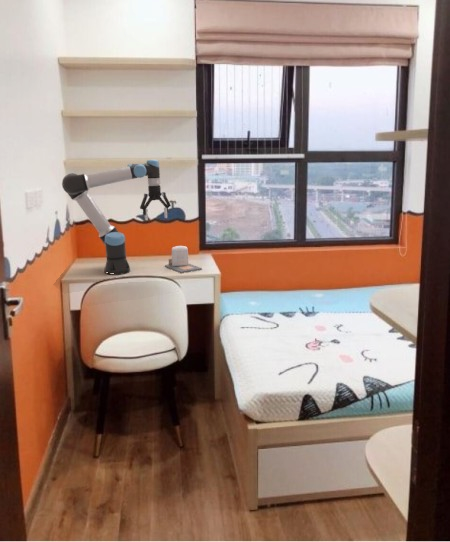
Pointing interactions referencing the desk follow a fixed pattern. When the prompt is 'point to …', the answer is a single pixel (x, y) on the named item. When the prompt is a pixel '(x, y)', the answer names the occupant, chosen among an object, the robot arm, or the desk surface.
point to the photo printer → (179, 256)
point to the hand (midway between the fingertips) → (156, 219)
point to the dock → (182, 267)
